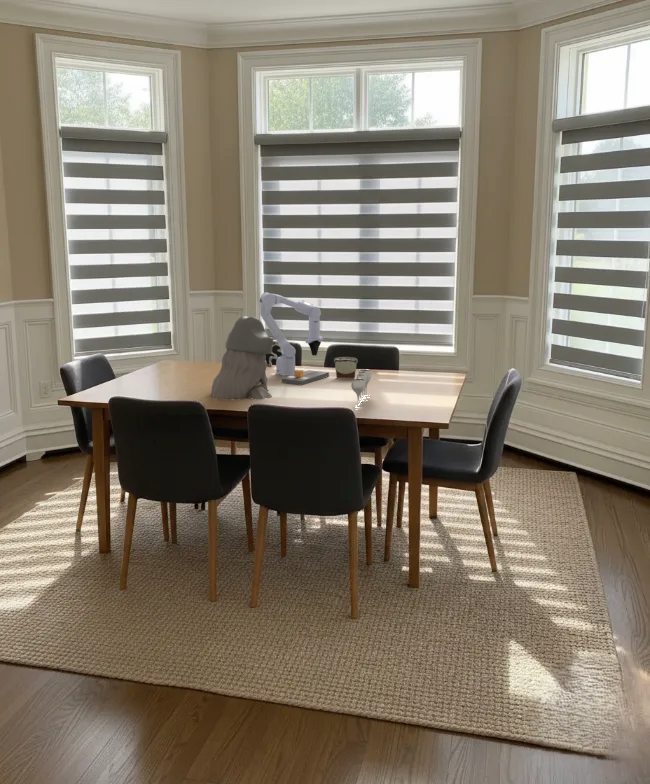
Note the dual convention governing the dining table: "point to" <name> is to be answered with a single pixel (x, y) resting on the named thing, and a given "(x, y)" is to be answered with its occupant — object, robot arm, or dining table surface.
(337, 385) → the dining table surface
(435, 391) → the dining table surface
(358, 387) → the goblet set
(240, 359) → the bust
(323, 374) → the console
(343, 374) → the food container
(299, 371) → the fader
